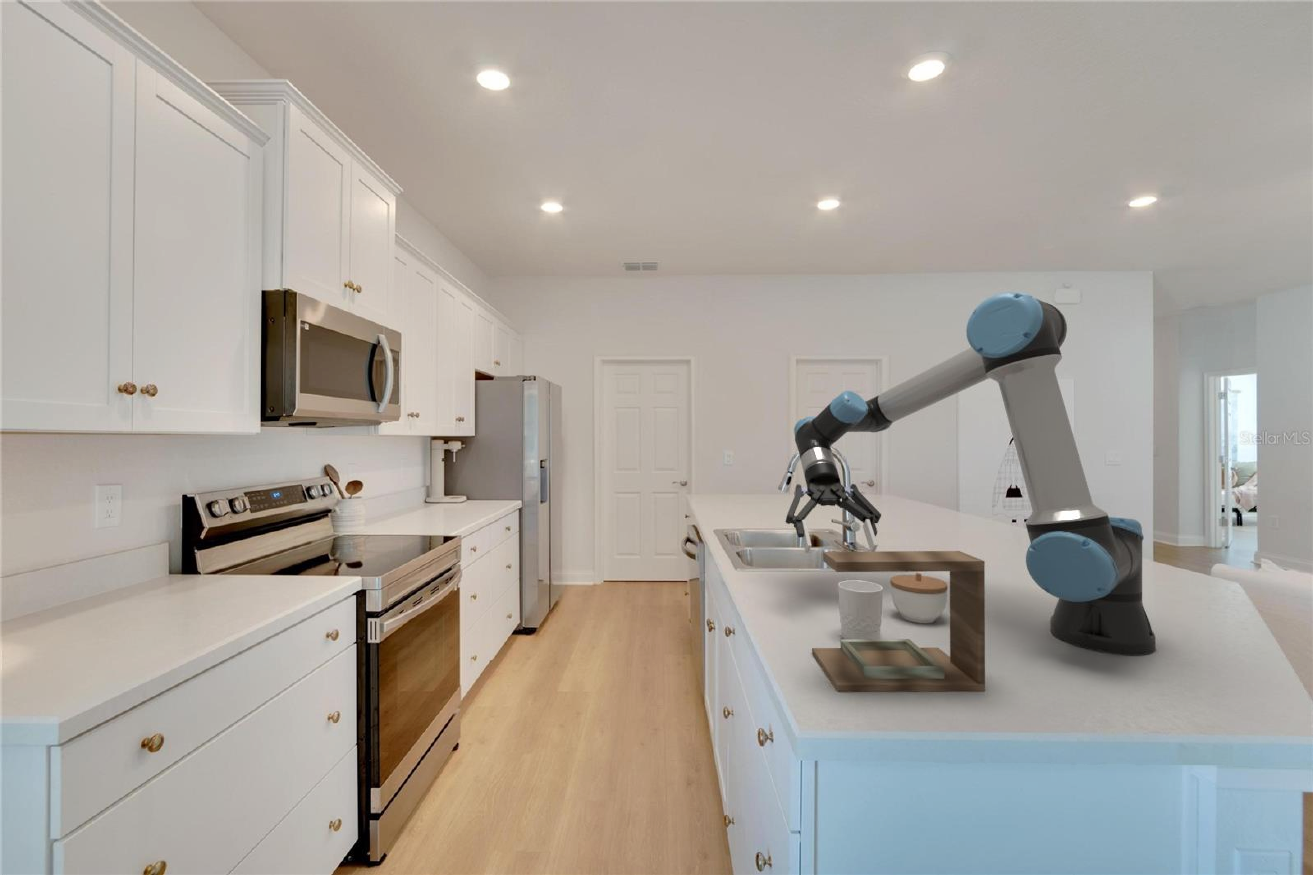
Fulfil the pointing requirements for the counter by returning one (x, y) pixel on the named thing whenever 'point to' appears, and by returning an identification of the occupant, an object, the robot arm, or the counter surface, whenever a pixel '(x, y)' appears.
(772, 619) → the counter surface
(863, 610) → the white cup
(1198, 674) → the counter surface
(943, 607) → the lidded jar
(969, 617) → the shelf unit
